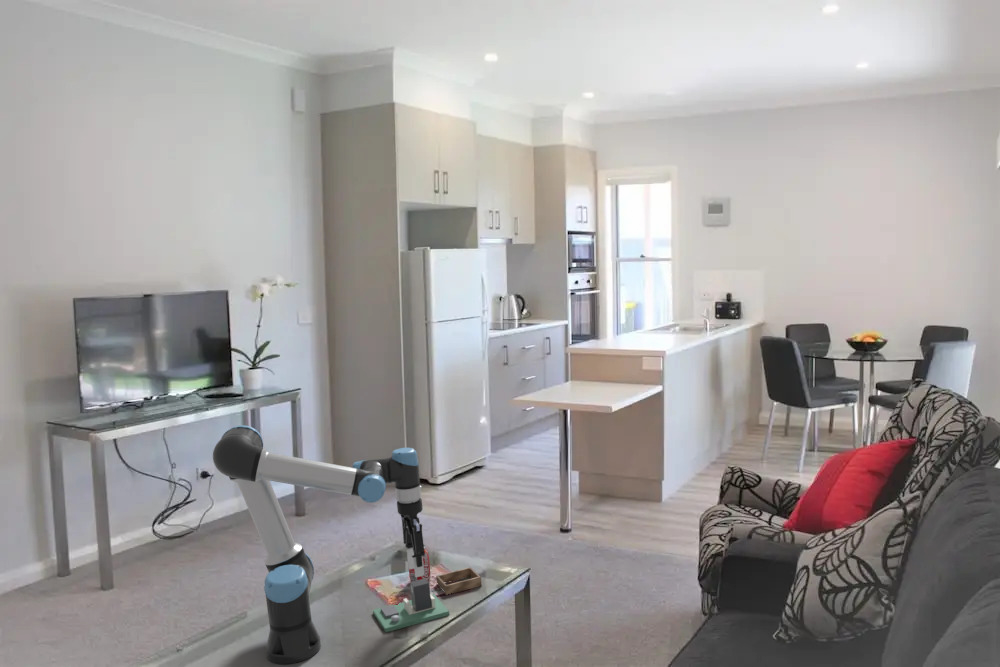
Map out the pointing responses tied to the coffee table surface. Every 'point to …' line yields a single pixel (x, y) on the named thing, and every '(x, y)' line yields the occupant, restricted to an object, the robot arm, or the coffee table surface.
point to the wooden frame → (457, 576)
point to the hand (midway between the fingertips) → (416, 571)
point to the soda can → (426, 568)
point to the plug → (420, 594)
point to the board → (408, 614)
